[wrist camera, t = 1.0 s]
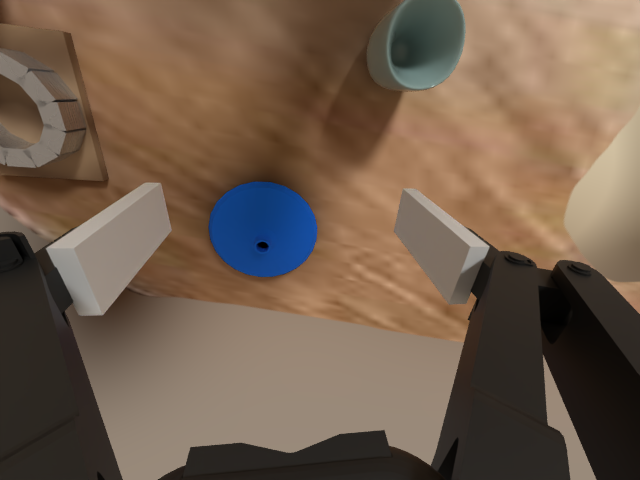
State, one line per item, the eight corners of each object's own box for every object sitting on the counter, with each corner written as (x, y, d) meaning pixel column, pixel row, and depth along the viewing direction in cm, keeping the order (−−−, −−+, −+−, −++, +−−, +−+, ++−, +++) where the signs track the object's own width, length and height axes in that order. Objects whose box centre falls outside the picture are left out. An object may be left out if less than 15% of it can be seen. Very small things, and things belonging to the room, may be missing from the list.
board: (-62, 16, 28) (-75, 13, 27) (70, 33, 30) (62, 31, 28) (6, 172, 35) (-3, 174, 34) (108, 178, 37) (103, 181, 36)
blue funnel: (334, 233, 45) (341, 255, 39) (259, 282, 48) (255, 309, 42) (273, 153, 38) (271, 164, 32) (190, 215, 41) (173, 237, 35)
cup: (358, 93, 35) (382, 93, 27) (360, 17, 32) (388, -12, 23) (415, 90, 36) (457, 89, 27) (424, 15, 32) (475, -13, 24)
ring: (-60, 41, 28) (-102, 35, 25) (66, 56, 29) (41, 52, 26) (-8, 156, 33) (-38, 163, 30) (96, 163, 35) (78, 170, 32)
